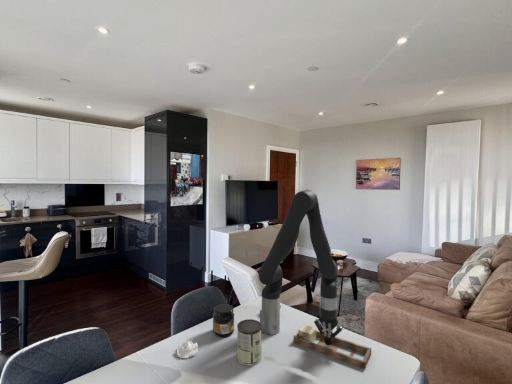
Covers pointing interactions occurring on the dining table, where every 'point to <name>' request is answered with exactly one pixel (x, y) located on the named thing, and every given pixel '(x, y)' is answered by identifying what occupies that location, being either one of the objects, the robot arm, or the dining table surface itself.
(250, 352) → the coffee can
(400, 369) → the dining table surface
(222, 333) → the supplement container
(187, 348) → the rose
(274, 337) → the dining table surface
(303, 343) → the track
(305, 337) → the oak block
